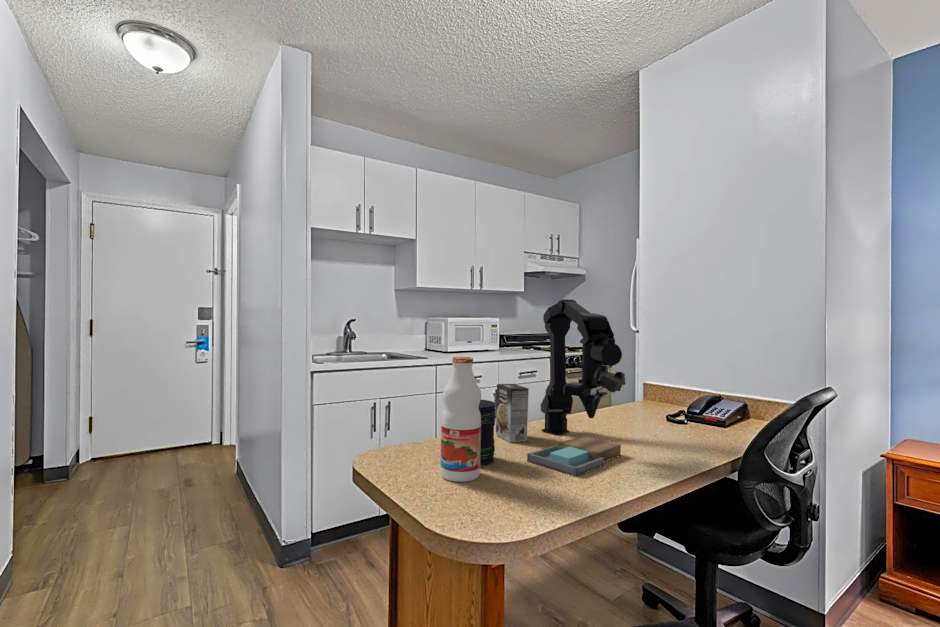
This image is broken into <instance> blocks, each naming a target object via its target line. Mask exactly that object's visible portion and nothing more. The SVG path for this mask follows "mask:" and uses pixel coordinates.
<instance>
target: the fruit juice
mask: <svg viewBox="0 0 940 627" xmlns="http://www.w3.org/2000/svg"><path fill="white" fill-rule="evenodd" d="M451 362H452V366H453V367H452V371H451V373H450V376H449V379H448V382H447V383H446V385H445V386H444V389H443V391H442V402H443V404H444V407H443V410H442V412H441V422H440V423H441V424H440V425H441V426H440V429H441V431H440V432H441V433H440V469H439V470H440V475H441V477H442V479H445V480H447V481H449V482H450V481H451V482H455V483H456V482H457V483H467V482H472V481H475V480H476V479H478V478H479V477H480V473H481V466H480V451H481V413H480V411H479V404H480V401H481V400H482V391H481V389H480V387H479V385H478V383H477V381H476V379H475V378H476V377H475V375H474V372H473V368H472V367H473V363H474V358H473V357H471V356H454V357H452V359H451Z"/></svg>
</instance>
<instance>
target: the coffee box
mask: <svg viewBox="0 0 940 627" xmlns="http://www.w3.org/2000/svg"><path fill="white" fill-rule="evenodd" d="M529 390H530V389H529V387H525V386H523V385H519V384H516V383H496V406H495V407H496V408H495V436H496V435H497V436H496V437H498V436H499V437H498V438H500V439H501V440H504V441H505V440H506V442H507V441H508V442H507V443H509V444H513V443H521V441H522V442H527V441H528V420H529V419H528V418H529V417H528V415H529ZM512 442H513V443H512Z"/></svg>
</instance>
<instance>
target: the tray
mask: <svg viewBox="0 0 940 627" xmlns="http://www.w3.org/2000/svg"><path fill="white" fill-rule="evenodd" d="M557 450H559V445H558V444H555V445H551V446H549V447H545V448H542V449H538V450H535V451H532V452H528V453H526V454H527V455H526V459H527V460H526V461H527V462H529V463H531V464H533V465H537V466H541V467H543V466H544V468H547V469H551V470H553V471H557V472H559V473H563V474H565V473H566V475H568V474H569V476H572V475H573V476H572V477H575V476H577V477H580V476H582V475H584V474H583V473H585V474H587V473H589V472H588V471H590V472H592V471H594V470H593V469H595V468H597V469H599V468H598V467H600V466H602V467H604V466H605V462H604V458H602V457H601V458H598V459H595V460H590V459H588V460H585V461H583V462H580V463H577V464H575V465H572V466H570V465H567V464H564V463H560V462H557V461H554V460H550V453H551V452H554V451H557ZM603 465H604V466H603ZM600 468H601V467H600ZM591 470H592V471H591ZM595 470H596V469H595ZM586 472H587V473H586ZM581 474H582V475H581ZM579 475H580V476H579Z"/></svg>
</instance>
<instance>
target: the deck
mask: <svg viewBox="0 0 940 627" xmlns="http://www.w3.org/2000/svg"><path fill="white" fill-rule="evenodd" d="M567 447H573V448H577V449H581V450H585V451H588V452H589V459H590V460H595V459H598V458H601V457H602V458H604V461H606V462H608V461H607V460H609V459H611V460H613V459H612V458H614V459H615V457H616V458H618V457H617V456H619V457H621V454H622V453H621V449H622V448H621V447H622V446H621V444H618V443H615V442H609V441H606V440H603V439H602V440H601V439H597V438H593V437H589V436H584V435H581V436H578V437H575V438H571V439H568V440H564V441H561V442H560V450H561V449H564V448H567ZM609 461H610V460H609Z"/></svg>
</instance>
